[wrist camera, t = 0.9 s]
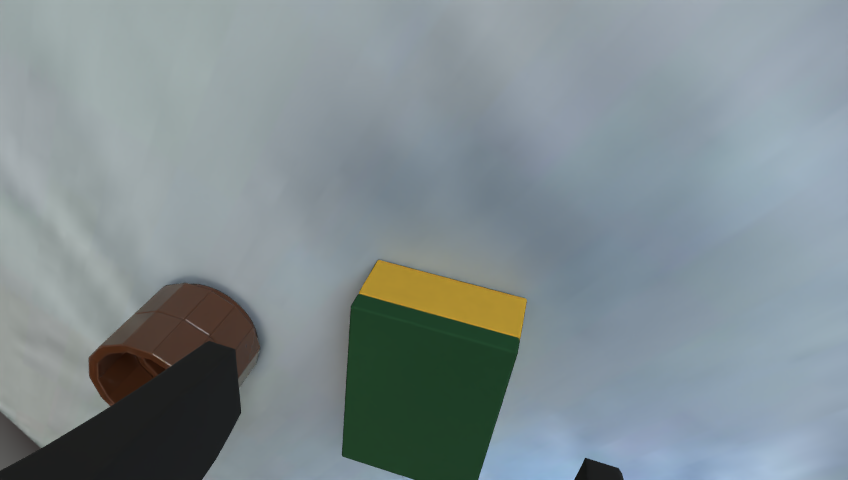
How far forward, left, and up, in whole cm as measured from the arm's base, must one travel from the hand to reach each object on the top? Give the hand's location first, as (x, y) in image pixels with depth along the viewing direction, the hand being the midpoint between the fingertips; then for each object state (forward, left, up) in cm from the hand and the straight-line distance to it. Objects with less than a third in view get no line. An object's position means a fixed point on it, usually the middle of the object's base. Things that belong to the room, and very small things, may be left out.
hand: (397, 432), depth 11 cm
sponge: (-8, +1, -10) cm, 13 cm away
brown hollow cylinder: (-10, +12, -10) cm, 18 cm away
